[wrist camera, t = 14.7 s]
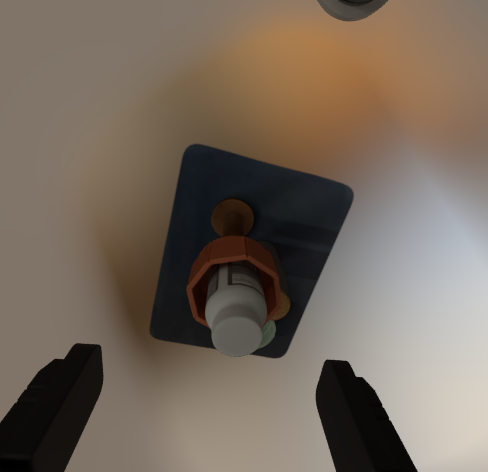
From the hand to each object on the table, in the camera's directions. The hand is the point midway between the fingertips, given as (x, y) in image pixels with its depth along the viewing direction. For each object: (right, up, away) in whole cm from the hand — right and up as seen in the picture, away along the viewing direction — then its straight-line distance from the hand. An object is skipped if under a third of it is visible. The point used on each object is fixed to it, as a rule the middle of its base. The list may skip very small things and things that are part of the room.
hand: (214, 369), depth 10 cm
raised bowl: (0, +1, +21) cm, 21 cm away
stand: (-1, +8, +38) cm, 39 cm away
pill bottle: (0, +1, +21) cm, 21 cm away
